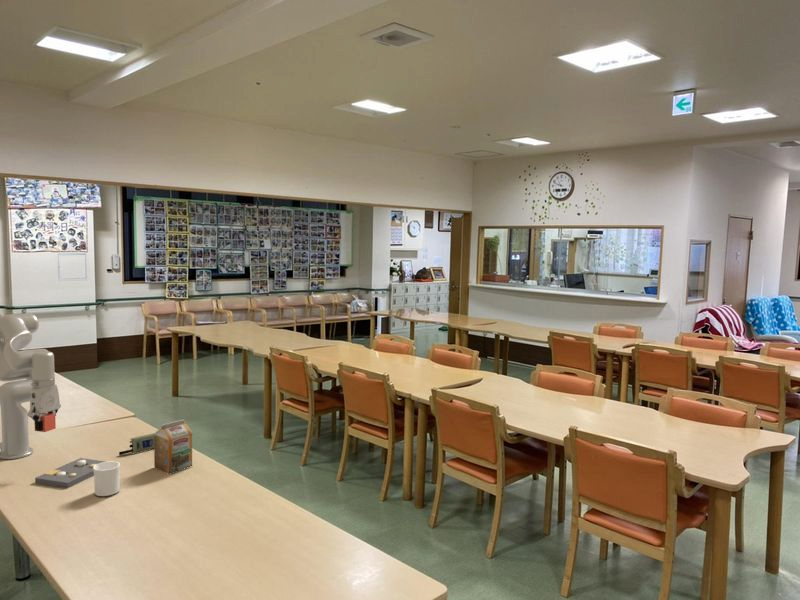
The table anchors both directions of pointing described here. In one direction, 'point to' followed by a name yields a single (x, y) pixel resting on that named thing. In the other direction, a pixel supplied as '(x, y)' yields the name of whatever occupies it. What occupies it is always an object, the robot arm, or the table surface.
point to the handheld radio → (140, 444)
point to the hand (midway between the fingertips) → (45, 427)
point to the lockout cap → (48, 422)
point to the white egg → (81, 463)
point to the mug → (106, 478)
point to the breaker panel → (68, 474)
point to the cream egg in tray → (61, 473)
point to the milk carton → (173, 447)
